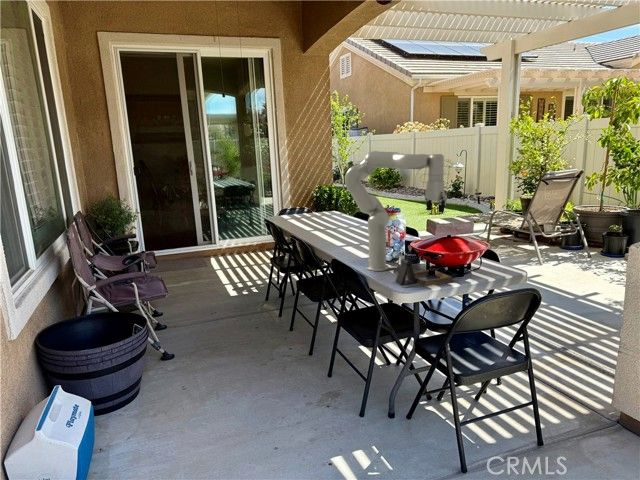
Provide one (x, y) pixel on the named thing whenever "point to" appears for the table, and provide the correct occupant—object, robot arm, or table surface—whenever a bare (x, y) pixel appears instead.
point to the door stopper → (406, 273)
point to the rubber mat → (407, 285)
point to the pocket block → (441, 280)
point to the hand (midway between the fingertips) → (435, 211)
